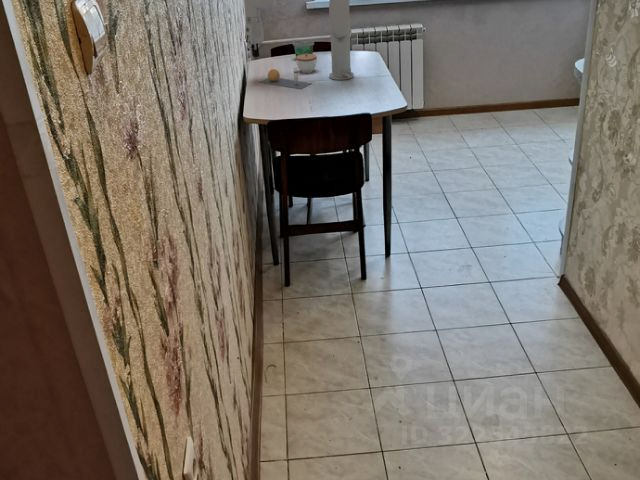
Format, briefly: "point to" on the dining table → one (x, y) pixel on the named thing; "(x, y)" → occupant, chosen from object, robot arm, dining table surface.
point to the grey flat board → (286, 83)
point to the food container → (303, 47)
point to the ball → (273, 75)
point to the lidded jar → (306, 62)
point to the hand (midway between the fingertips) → (255, 56)
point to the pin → (296, 76)
